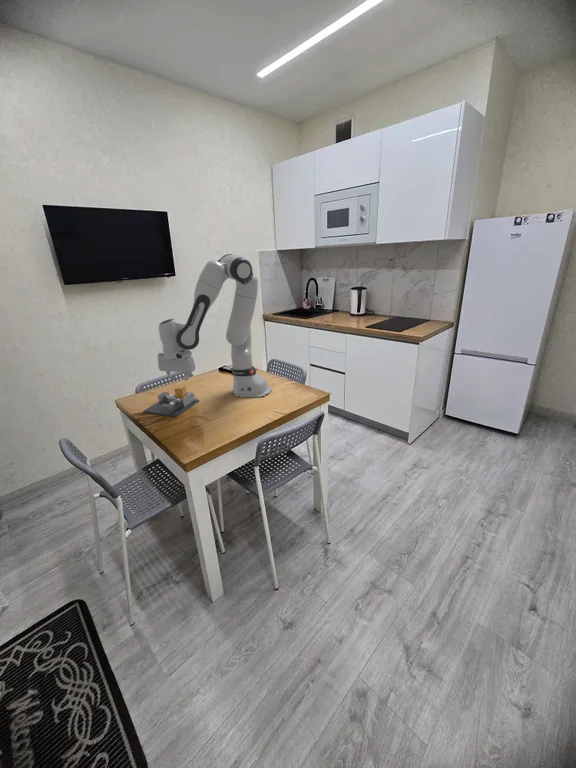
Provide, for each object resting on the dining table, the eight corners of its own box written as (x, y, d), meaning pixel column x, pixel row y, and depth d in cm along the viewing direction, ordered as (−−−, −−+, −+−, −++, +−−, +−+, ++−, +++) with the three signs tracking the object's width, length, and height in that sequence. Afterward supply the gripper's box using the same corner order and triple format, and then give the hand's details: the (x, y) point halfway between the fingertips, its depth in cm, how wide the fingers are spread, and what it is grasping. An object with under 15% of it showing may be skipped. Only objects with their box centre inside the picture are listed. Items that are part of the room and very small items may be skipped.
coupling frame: (199, 401, 168) (197, 391, 166) (176, 417, 151) (174, 406, 149) (168, 397, 175) (166, 388, 173) (143, 412, 158) (141, 402, 156)
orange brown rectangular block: (187, 401, 166) (185, 385, 163) (184, 404, 162) (181, 388, 159) (180, 401, 167) (177, 385, 163) (177, 404, 163) (174, 388, 160)
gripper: (152, 354, 156) (158, 380, 161) (186, 355, 149) (191, 382, 154) (161, 351, 161) (167, 376, 166) (194, 351, 154) (199, 378, 159)
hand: (179, 379), depth 160 cm, fingers open, 8 cm apart
